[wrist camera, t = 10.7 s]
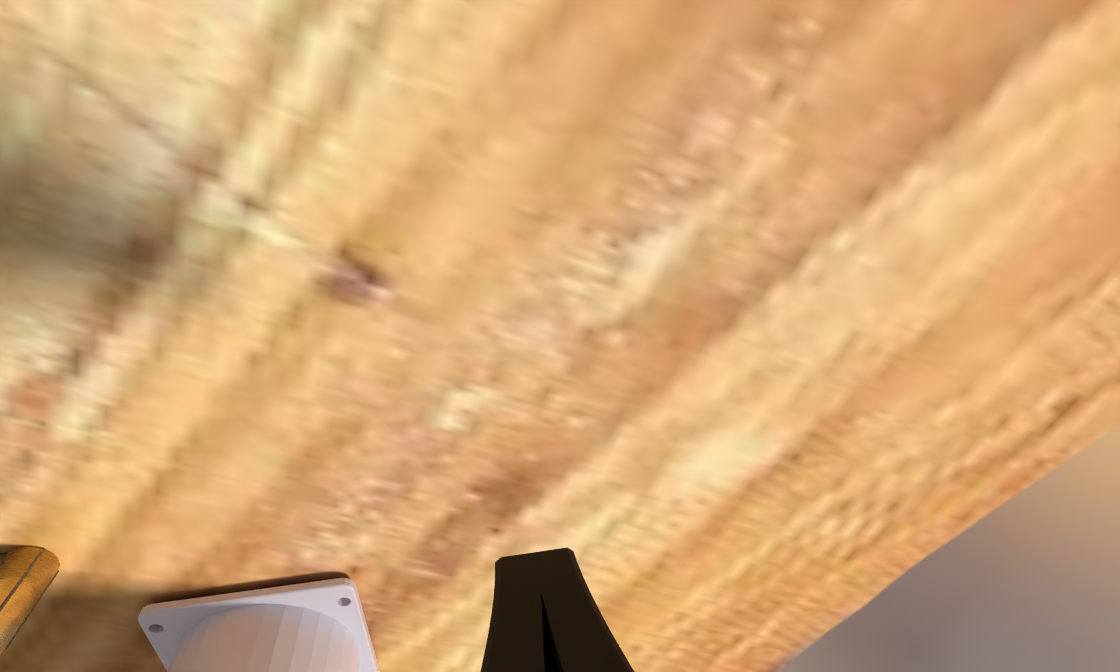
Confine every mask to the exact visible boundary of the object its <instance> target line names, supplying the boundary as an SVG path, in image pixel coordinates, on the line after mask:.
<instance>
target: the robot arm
mask: <svg viewBox="0 0 1120 672" xmlns="http://www.w3.org/2000/svg"><path fill="white" fill-rule="evenodd" d="M137 620H138V622H139V624H140V626H141V628H142V629H143V631H144V633H145V634H146V636H147V638H148V640H149V641H150V643H151V645H152V647H153V648H154V650H155V652H156V653H157V655H158V657H159V659H160V660H161V662H162V664H163V666H164V667H165V669H166V671H167V672H380V671H379V667H378V664H377V660H376V656H375V653H374V649H373V645H372V642H371V638H370V634H369V631H368V627H367V624H366V620H365V616H364V613H363V609H362V605H361V602H360V598H359V594H358V591H357V587H356V584H355V582H354V581H352V580H351V579H348V578H337V579H330V580H322V581H315V582H308V583H300V584H293V585H286V586H279V587H271V588H264V589H257V590H249V591H242V592H235V593H228V594H220V595H213V596H206V597H198V598H191V599H184V600H177V601H169V602H162V603H155V604H150V605H146V606H144V607H143V608H142V609H141V611H140V613H139V615H138V618H137ZM481 672H634V670H633V669H632V667H631V666H630V664H629V662H628V660H627V659H626V657H625V655H624V654H623V652H622V650H621V648H620V647H619V645H618V643H617V642H616V640H615V638H614V637H613V635H612V633H611V631H610V630H609V628H608V626H607V624H606V622H605V620H604V619H603V617H602V615H601V613H600V611H599V609H598V607H597V605H596V603H595V601H594V599H593V597H592V595H591V593H590V591H589V589H588V587H587V584H586V582H585V580H584V578H583V575H582V573H581V571H580V568H579V566H578V563H577V561H576V558H575V555H574V552H573V551H572V550H570V549H569V548H562V549H555V550H548V551H541V552H534V553H528V554H521V555H514V556H507V557H501V558H500V559H499V560H498V561H496V562H495V588H494V599H493V608H492V615H491V621H490V627H489V634H488V639H487V644H486V649H485V654H484V658H483V663H482V668H481Z"/></svg>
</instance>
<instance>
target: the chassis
mask: <svg viewBox="0 0 1120 672" xmlns="http://www.w3.org/2000/svg"><path fill="white" fill-rule="evenodd" d="M59 567H60V563H59V560H58V559H57V557H56V556H55V555H53V554H52V553H50V552H49V551H47V550H45V549H41V548H37V547H20V548H16V549H14V550H12V551H10V552H9V553H4V554H0V655H1V653H2V652H3V650H4V649H7V648H8V646H9V645H10V643H11V642H12V640H13V639H14V637H15V636H16V634H17V633H18V631H19V630H20V628H21V627H22V625H23V624H24V622H25V621H26V619H27V618H28V616H29V615H30V613H31V612H32V611H33V609H34V608H35V606H36V605H37V603H38V602H39V600H40V599H41V597H42V596H43V594H44V593H45V591H46V590H47V588H48V587H49V585H50V584H51V582H52V581H53V579H54V578H55V576H56V575H57V573H58V572H59V571H58V569H59Z"/></svg>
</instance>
